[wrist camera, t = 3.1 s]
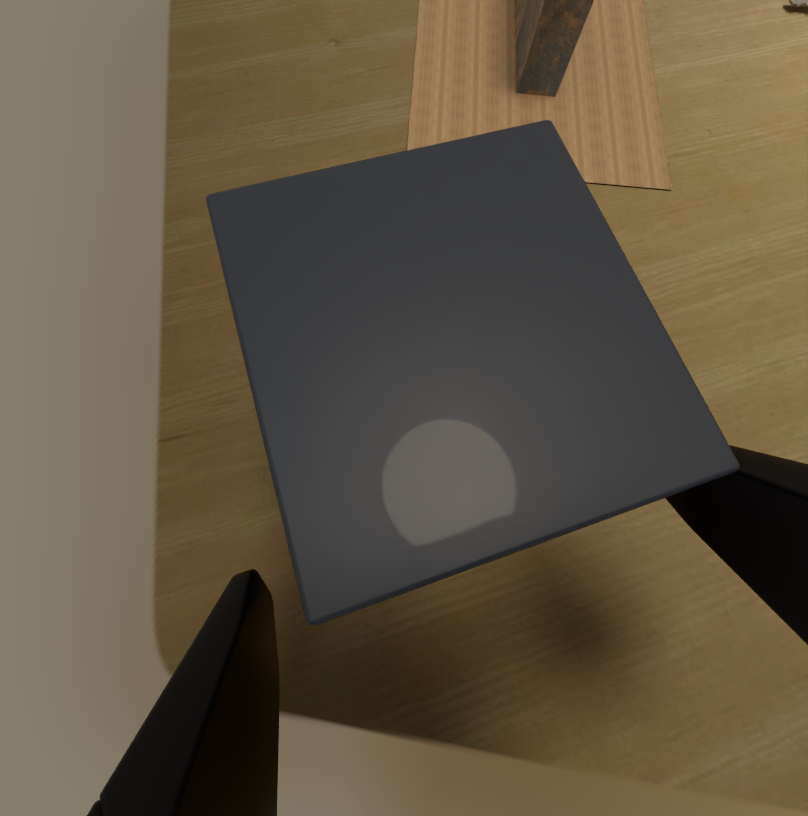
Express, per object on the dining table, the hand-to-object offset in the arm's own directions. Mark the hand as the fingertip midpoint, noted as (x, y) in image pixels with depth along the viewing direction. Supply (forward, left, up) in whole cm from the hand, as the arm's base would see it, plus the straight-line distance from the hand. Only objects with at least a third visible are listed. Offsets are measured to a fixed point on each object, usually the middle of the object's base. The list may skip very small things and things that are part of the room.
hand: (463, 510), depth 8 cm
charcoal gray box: (+4, +2, -10) cm, 11 cm away
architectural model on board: (+33, -2, -10) cm, 35 cm away
